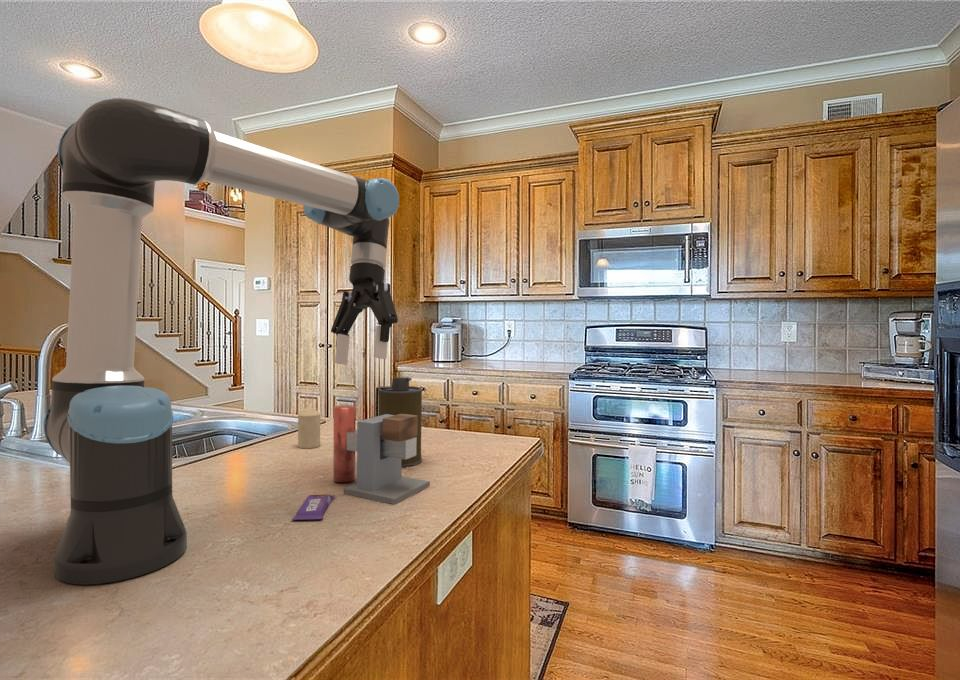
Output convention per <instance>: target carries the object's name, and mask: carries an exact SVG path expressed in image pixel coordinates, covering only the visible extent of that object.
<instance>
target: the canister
mask: <svg viewBox="0 0 960 680" xmlns="http://www.w3.org/2000/svg"><path fill="white" fill-rule="evenodd" d="M411 381H413V379H412V377H409V376H408V377H406V376H404V377H403V376H396V377H394V378H392V381H391V385H389V386H384V385H383V386H377V387H376V388H375V417H377V416H381V415H385V414H389V415H398V414H408V415H417V416H418V432H417V436H415V437H417V443H416V456H414V457H411V458H409V459H406V460H405V459H401V468H405V467H406V468H407V467H413V466H416V465H417V466H418V465H419V464H420V463H422V461H423V459H422V408H423V407H422V402H423V401H422V399H423V398H422V397H423V395H422V394H423V387H420V386H413V385H410V382H411Z"/></svg>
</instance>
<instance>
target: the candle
mask: <svg viewBox="0 0 960 680" xmlns="http://www.w3.org/2000/svg"><path fill="white" fill-rule="evenodd" d="M297 416H298V417H297V446H298V448H299V449H316V448H319V447H321V413H320V411H318V410H317V409H315V408H310V407H306V408H302V410H301V411H299V413H298V415H297Z"/></svg>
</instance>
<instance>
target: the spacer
mask: <svg viewBox="0 0 960 680" xmlns="http://www.w3.org/2000/svg"><path fill="white" fill-rule="evenodd" d="M417 432H418V416H417V415H408V414H398V415H394V416H390V417H387V418H383V425H382V439H384V440H391V441H398V442H400V441H403V440H406V439H409V438H412V437H415V436H417Z"/></svg>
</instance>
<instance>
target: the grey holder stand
mask: <svg viewBox="0 0 960 680" xmlns="http://www.w3.org/2000/svg"><path fill="white" fill-rule="evenodd" d="M390 416H394V415H389V414H385V415H381V416H379V415H378V416H377V417H376V416H374V417H373V416H372V417H369V418H366V419H361V420H357V421H356V422H357V424H356V425H357V426H356V427H357V428H356V430H357V452H356V483H353V484H351V485H349V486H346V487H344V488H343V494H345V495H349V496H353V497H358V498H364V499H366V500H372V501H377V502H381V503H387V504H390V505H396V504H397V503H400V502H401V501H404V500H405V499H407V498H410V497H412V496H413V495H415V494H417V493H419V492H421V491H423V490H425V489H427V488H428V487H430V485H431V483H430V482H431V481H430V480H426V479H420V478H414V477H409V476H403V475H402V467H401V459H399V458H392V457H386V456H380V435H381V434H382V425H383V418H387V417H390Z"/></svg>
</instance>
